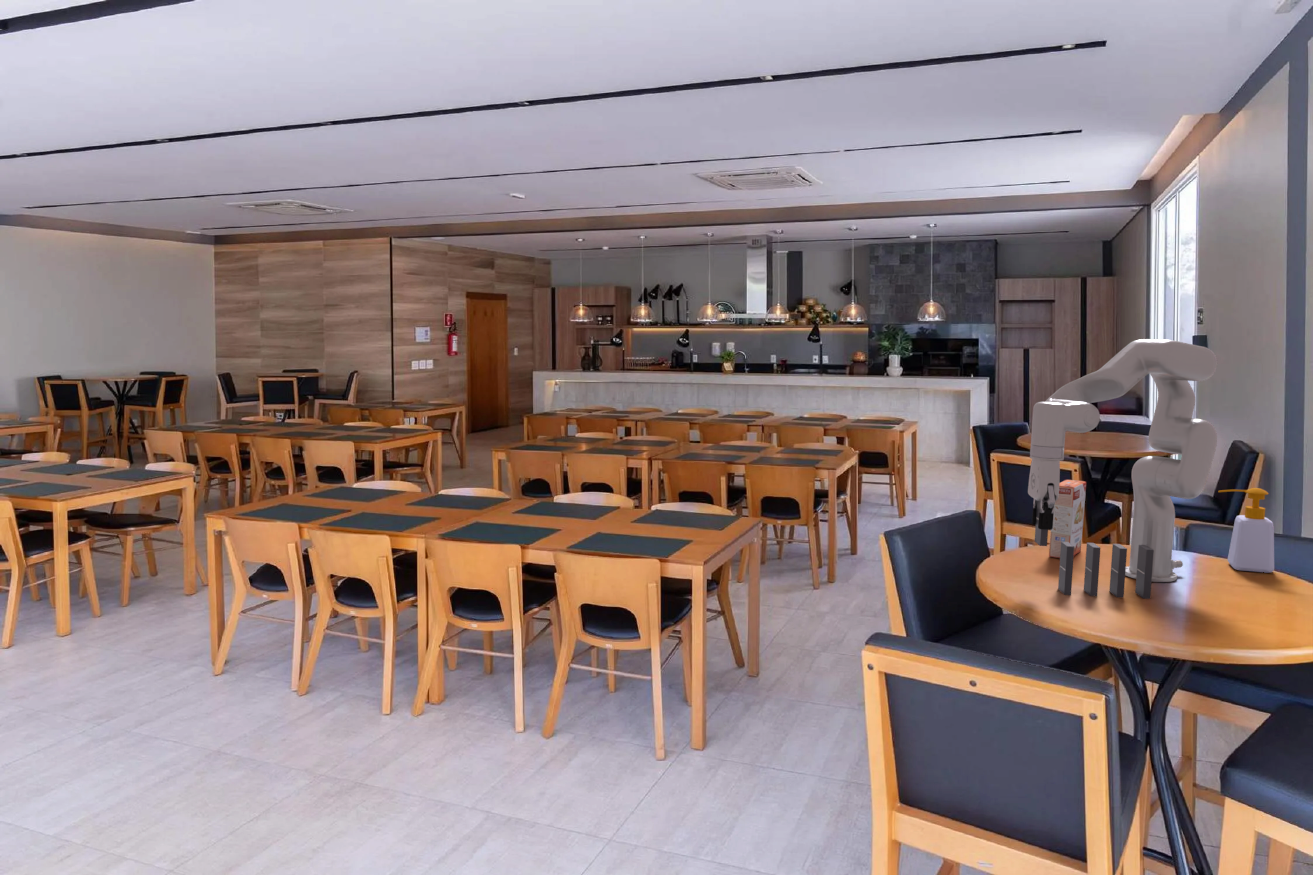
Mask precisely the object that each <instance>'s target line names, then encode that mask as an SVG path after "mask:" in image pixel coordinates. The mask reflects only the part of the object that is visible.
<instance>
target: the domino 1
mask: <svg viewBox="0 0 1313 875" xmlns="http://www.w3.org/2000/svg"><path fill="white" fill-rule="evenodd" d="M1043 500H1048V498H1043ZM1045 504H1046V503H1044V506H1045ZM1039 512H1040V513H1041V499H1040V500H1039V501H1037V514H1036V525H1035V528H1034V529H1035V530H1034V542H1035V543H1036V544H1037V545H1038V546H1040V547H1048V538H1049V537H1048V536H1049V530H1045V529H1039V528H1038V521H1039Z"/></svg>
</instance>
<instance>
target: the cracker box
mask: <svg viewBox="0 0 1313 875" xmlns="http://www.w3.org/2000/svg"><path fill="white" fill-rule="evenodd" d="M1086 490H1087V481H1084V480H1073V479H1064V480H1063V481H1061V482H1060V483H1059V496H1058V499H1057V500H1056V501H1055V505H1054V515H1053V529H1052V530H1050V535H1049V537H1050V538H1049V548H1048V549H1049V550H1048V557H1049V558H1054V559H1060V552H1061V542H1069V543H1070V544H1071V545H1073V546H1074V557H1075V556H1076V555H1077V554H1079V553H1080V552H1082V539H1083V528H1084V515H1085V504H1086V503H1085V501H1086V493H1087V492H1086Z"/></svg>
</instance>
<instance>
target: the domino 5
mask: <svg viewBox="0 0 1313 875" xmlns="http://www.w3.org/2000/svg"><path fill="white" fill-rule="evenodd" d="M1153 553H1154V550H1153V549H1152V548H1150V547H1148V546H1146V545H1139V548H1138V562H1137V576H1136V579H1135V590H1134V591H1135V592H1134V593H1135V594H1136V595H1137V596H1139V597H1140V598H1142V599H1145V600H1149V599H1151V590H1152V581H1151V580H1152V567H1153Z"/></svg>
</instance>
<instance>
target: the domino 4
mask: <svg viewBox="0 0 1313 875" xmlns="http://www.w3.org/2000/svg"><path fill="white" fill-rule="evenodd" d="M1127 553H1128V548H1126V547H1125V546H1123V544H1120V543H1112V550H1111V563H1110V577H1109V578H1110V579H1109V590H1108V591H1109V592H1110V593H1111V594H1112V595H1113V596H1114V597H1115V598H1124V597H1125V596H1124V595H1125V583H1126V575H1125V571H1126V567H1127V555H1128V554H1127Z"/></svg>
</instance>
